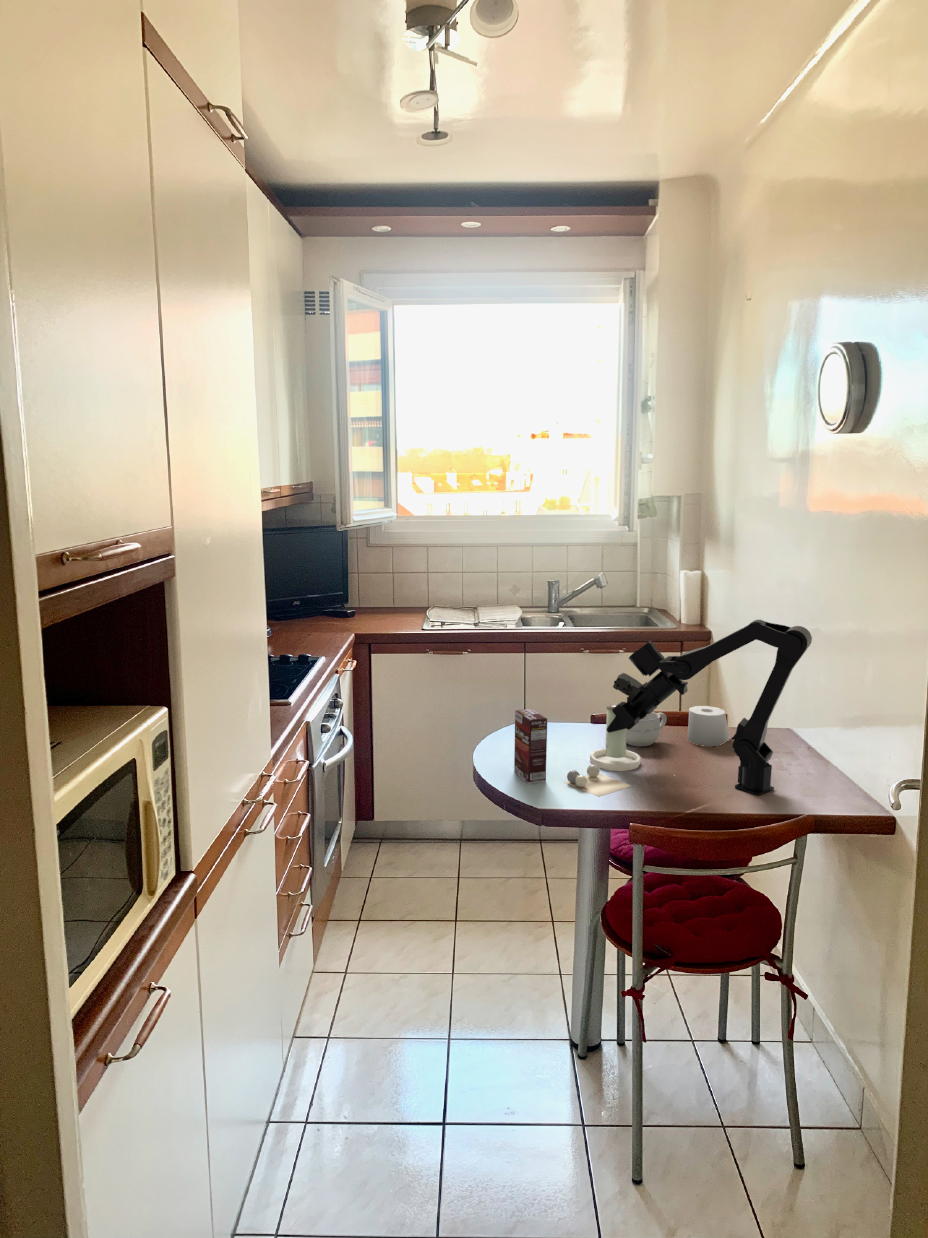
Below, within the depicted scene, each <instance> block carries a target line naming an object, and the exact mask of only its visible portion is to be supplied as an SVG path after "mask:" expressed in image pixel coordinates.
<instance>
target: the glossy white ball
mask: <svg viewBox="0 0 928 1238" xmlns="http://www.w3.org/2000/svg"><path fill="white" fill-rule="evenodd" d="M586 773H587V775H589V776H590V777H597V776H598V775H599V774H600V773H601V772H600V768H598V766H596V765H593V764H590V765H588V767H586Z"/></svg>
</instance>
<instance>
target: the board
mask: <svg viewBox="0 0 928 1238" xmlns="http://www.w3.org/2000/svg"><path fill="white" fill-rule="evenodd" d="M584 776H585V777H586V778H587V785H586V786H585V787H582V788H581V787H578V786H577V785H576V783H571V782H569V781H568V780H567V781H565V782H563V783H564V784H566V785H569V786H572V787H574V788H576V789H579V790H582V791H584V792H586V793H588V794H590V795H591V794H592V795H594V796H596V797H598V798H600V797H603V796H606V795H608V794H611V793H614V792H615V793H616V792H618V791H621V790H624V789H629V788H630V787H632V785H631V784H628V783H626V782H623V781H620V780H618V779H615V778H612V777H610V776H607V775H604V774H601V773H599V775H598V776H597V777H590V776H589V775H588V774H587V775H584Z"/></svg>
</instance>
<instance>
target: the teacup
mask: <svg viewBox="0 0 928 1238" xmlns="http://www.w3.org/2000/svg"><path fill="white" fill-rule="evenodd" d="M666 724H667V715H666V714H665V713H663V712H654V711H652V712H651V713H650V714H647V715H646V717H644V718H643V719H640V720H639V722H638V723H637V724H636V725H635V726H633V727H632V728H631V729H630V730H628V729H627V739H626V744H628V745H630V746H633V747H647V746H651V745H652V744H654V742H656V741H658V739H659V738H660V732H661V729H663V727H664V726H665V725H666Z"/></svg>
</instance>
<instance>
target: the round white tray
mask: <svg viewBox="0 0 928 1238" xmlns="http://www.w3.org/2000/svg"><path fill="white" fill-rule="evenodd" d="M589 754H590V755H589V762H590V763H591V765H596V766H598V768H599V769H603V770H605V771H615V772H617V771H618V772H622V771H625V772H626V771H631V770H635V769H637V768H639V766H640V764H641V762H642V761H641V756H640V754H638V753H637V752H633V751H631V750H628V749H626V756H625V757H622V758H613V757H609V756H607V755H606V748H599V749H596V750H593V751H592V752H591V753H589Z"/></svg>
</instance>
